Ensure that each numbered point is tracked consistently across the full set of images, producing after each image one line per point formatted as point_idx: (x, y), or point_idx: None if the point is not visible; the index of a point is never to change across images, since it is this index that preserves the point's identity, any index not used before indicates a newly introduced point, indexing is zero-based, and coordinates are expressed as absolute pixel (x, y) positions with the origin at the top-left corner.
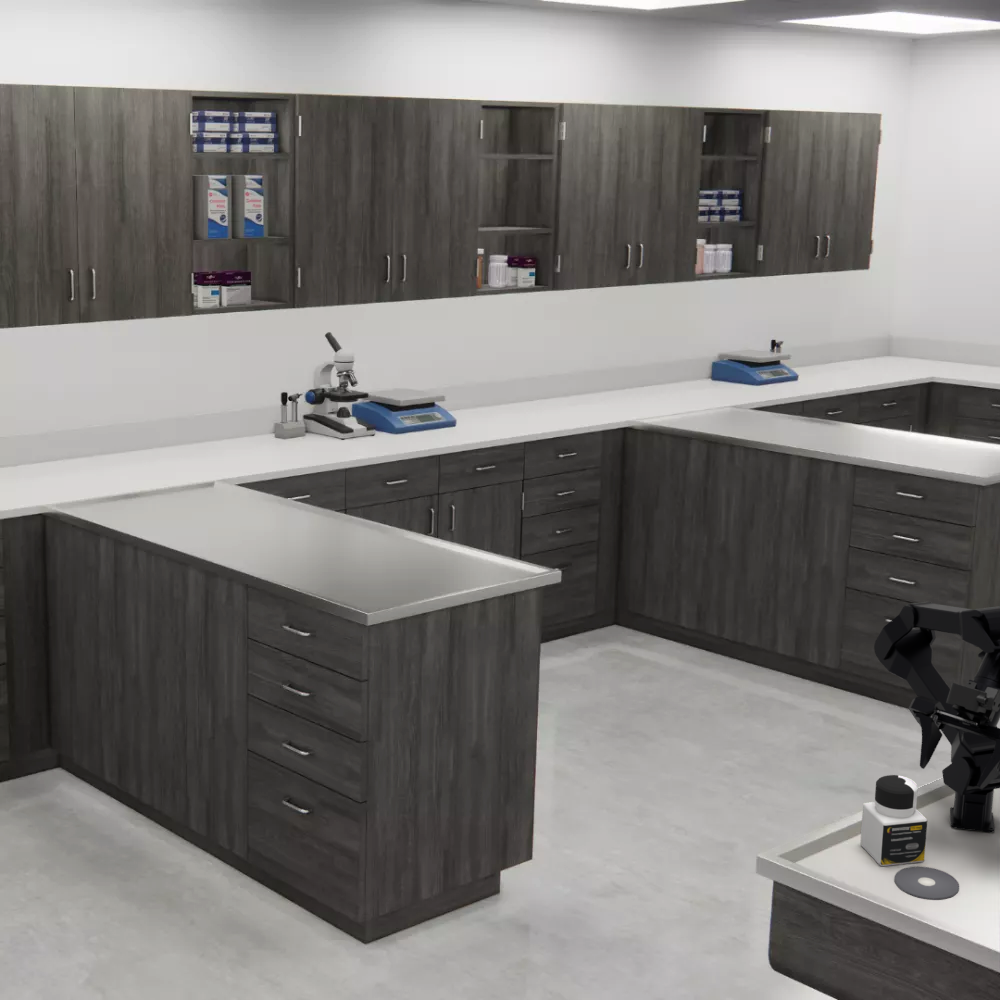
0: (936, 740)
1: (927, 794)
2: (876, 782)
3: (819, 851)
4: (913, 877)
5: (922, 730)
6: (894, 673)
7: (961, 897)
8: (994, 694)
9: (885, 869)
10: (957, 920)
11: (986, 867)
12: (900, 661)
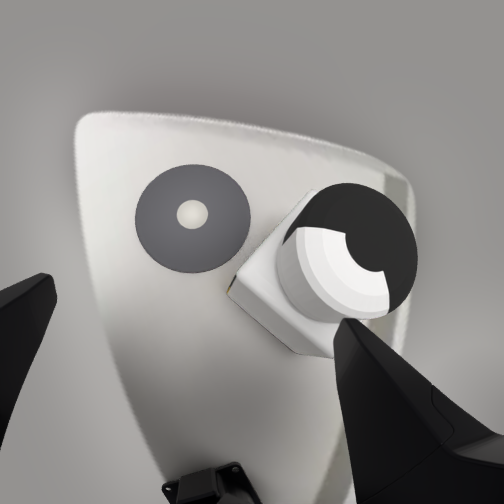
0: (375, 500)
1: None
2: (409, 224)
3: None
4: (218, 216)
5: (486, 431)
6: None
7: (126, 206)
8: None
9: (274, 224)
10: (120, 141)
11: (117, 345)
12: None
